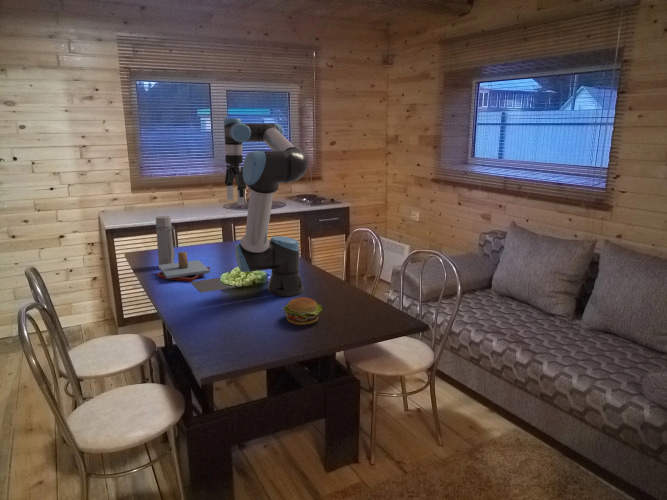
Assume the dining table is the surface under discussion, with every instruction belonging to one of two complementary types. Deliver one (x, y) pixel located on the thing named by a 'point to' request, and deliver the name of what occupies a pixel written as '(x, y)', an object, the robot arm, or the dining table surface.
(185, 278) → the plant saucer
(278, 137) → the robot arm
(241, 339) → the dining table surface
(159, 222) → the water bottle
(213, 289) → the mat
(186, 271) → the lid
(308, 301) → the food
